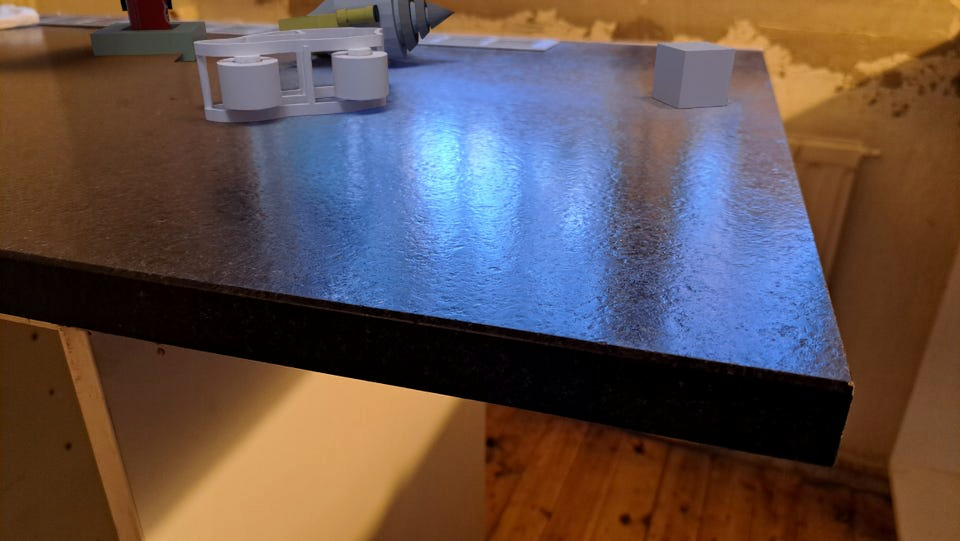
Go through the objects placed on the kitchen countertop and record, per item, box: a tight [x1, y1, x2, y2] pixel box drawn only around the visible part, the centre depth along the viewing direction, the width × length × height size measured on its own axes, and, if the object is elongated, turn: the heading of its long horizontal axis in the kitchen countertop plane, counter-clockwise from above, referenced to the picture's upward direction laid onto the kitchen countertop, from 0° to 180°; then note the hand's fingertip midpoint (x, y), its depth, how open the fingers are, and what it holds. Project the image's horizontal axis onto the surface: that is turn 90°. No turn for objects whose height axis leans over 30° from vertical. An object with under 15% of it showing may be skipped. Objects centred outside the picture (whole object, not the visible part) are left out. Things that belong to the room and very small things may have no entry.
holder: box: [89, 20, 209, 63], centre depth 105 cm, size 13×13×4 cm
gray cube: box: [651, 40, 737, 110], centre depth 78 cm, size 6×6×6 cm
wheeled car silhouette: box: [193, 27, 390, 123], centre depth 73 cm, size 20×11×7 cm, turn 115°
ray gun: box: [277, 0, 456, 65], centre depth 99 cm, size 11×24×20 cm
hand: (146, 2), depth 106 cm, fingers closed on soda can, 5 cm apart
